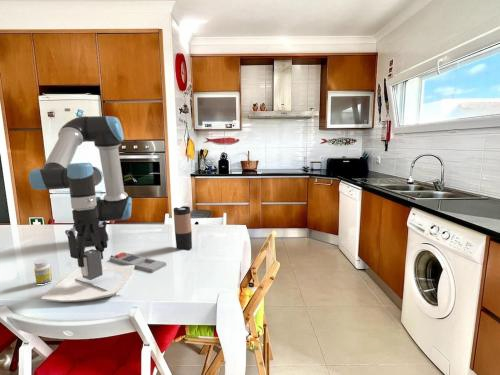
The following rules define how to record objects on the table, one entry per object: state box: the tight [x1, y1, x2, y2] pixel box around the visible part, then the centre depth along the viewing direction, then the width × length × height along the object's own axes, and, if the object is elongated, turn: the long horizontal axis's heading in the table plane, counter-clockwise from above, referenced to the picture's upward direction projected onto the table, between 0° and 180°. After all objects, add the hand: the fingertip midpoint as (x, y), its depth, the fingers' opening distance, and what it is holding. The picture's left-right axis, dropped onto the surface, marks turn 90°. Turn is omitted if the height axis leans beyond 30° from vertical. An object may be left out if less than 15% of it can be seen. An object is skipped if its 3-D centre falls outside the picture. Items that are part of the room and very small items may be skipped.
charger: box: [82, 248, 104, 281], centre depth 100 cm, size 4×4×9 cm
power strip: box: [109, 252, 167, 273], centre depth 118 cm, size 30×7×3 cm, turn 61°
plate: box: [40, 265, 135, 303], centre depth 101 cm, size 24×24×3 cm
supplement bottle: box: [34, 258, 53, 285], centre depth 104 cm, size 5×5×8 cm
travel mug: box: [173, 205, 193, 251], centre depth 134 cm, size 8×8×20 cm
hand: (92, 271), depth 101 cm, fingers closed on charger, 4 cm apart
